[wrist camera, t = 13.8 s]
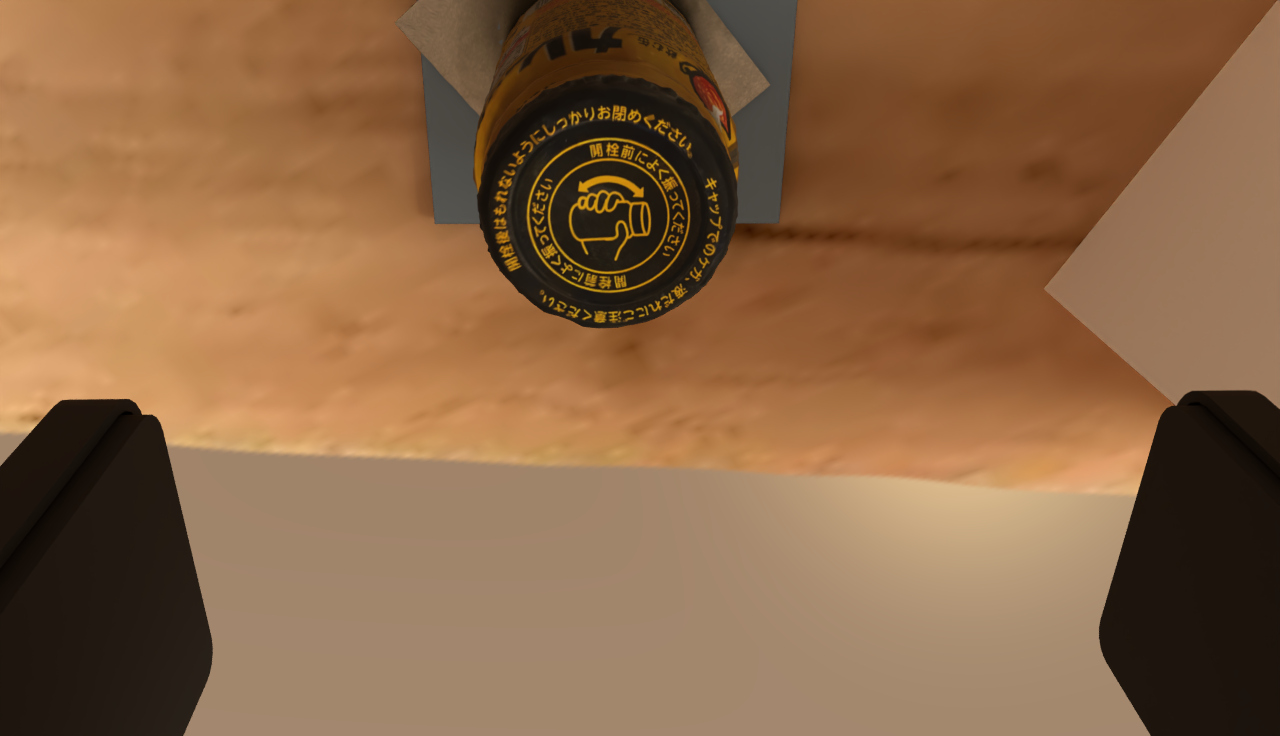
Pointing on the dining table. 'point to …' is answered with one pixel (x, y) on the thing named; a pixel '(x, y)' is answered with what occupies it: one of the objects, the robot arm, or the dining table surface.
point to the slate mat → (764, 27)
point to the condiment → (598, 144)
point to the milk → (1196, 242)
